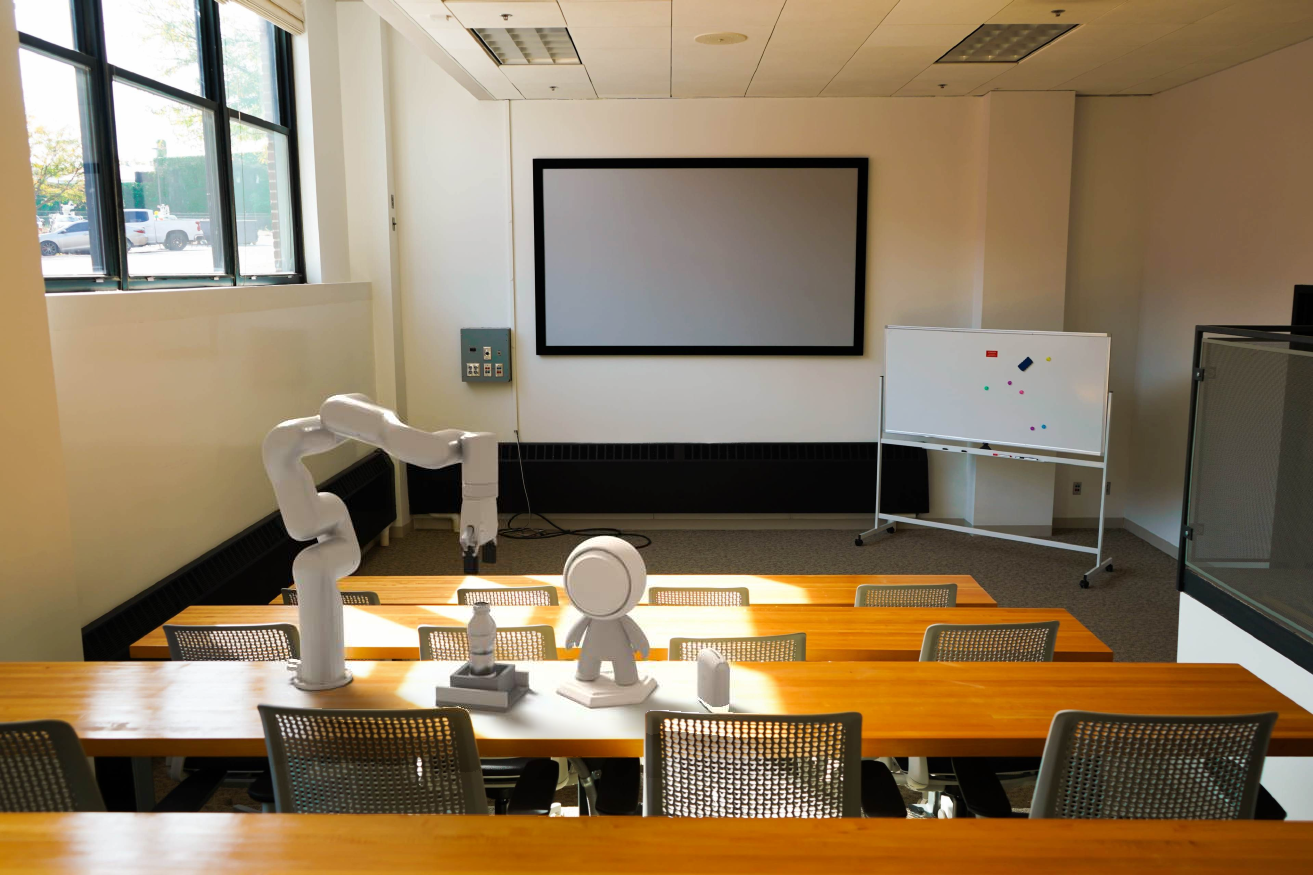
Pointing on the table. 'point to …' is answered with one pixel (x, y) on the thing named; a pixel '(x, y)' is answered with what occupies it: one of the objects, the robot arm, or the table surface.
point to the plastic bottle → (482, 641)
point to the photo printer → (713, 678)
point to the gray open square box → (484, 689)
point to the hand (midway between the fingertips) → (480, 568)
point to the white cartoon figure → (606, 623)
